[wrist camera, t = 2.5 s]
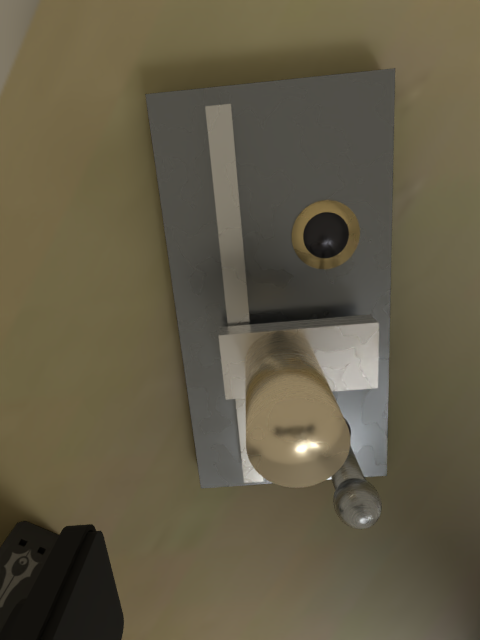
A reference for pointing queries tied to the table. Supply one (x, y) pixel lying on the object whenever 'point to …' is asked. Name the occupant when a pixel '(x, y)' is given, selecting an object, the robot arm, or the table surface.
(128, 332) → the table surface
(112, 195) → the table surface
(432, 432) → the table surface
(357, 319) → the sliding carriage with knob
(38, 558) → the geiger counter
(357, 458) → the plate
